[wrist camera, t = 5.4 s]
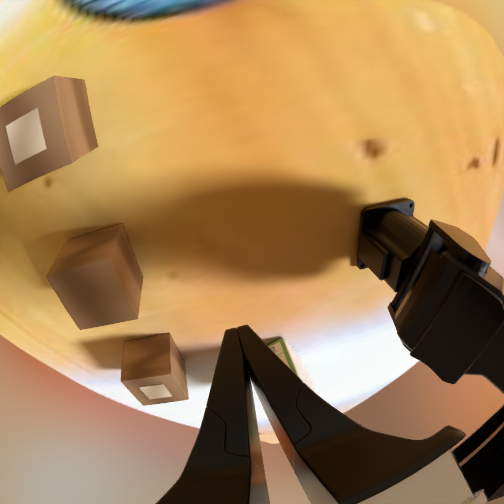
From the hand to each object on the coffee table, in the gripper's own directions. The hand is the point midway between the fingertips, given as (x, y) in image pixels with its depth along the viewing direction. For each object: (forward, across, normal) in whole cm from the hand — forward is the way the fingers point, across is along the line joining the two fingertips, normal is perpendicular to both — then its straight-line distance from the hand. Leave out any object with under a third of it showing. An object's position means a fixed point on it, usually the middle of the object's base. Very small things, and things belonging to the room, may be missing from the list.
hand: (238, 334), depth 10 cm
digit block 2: (+12, +9, +14) cm, 20 cm away
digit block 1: (+12, +9, -9) cm, 18 cm away
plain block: (+12, +9, +2) cm, 15 cm away
